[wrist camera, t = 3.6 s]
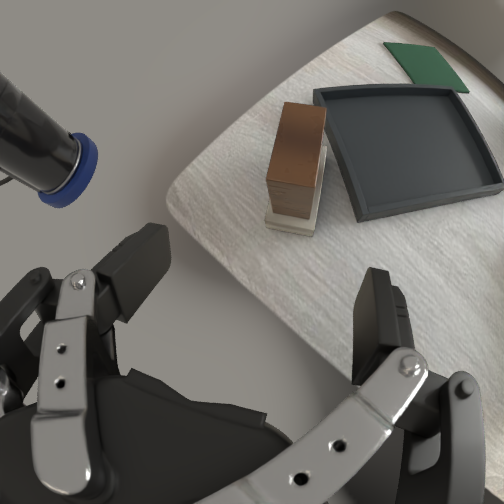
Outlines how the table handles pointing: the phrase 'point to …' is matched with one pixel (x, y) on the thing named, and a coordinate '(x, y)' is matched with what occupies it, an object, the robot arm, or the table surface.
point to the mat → (425, 65)
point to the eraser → (296, 169)
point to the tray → (406, 147)
